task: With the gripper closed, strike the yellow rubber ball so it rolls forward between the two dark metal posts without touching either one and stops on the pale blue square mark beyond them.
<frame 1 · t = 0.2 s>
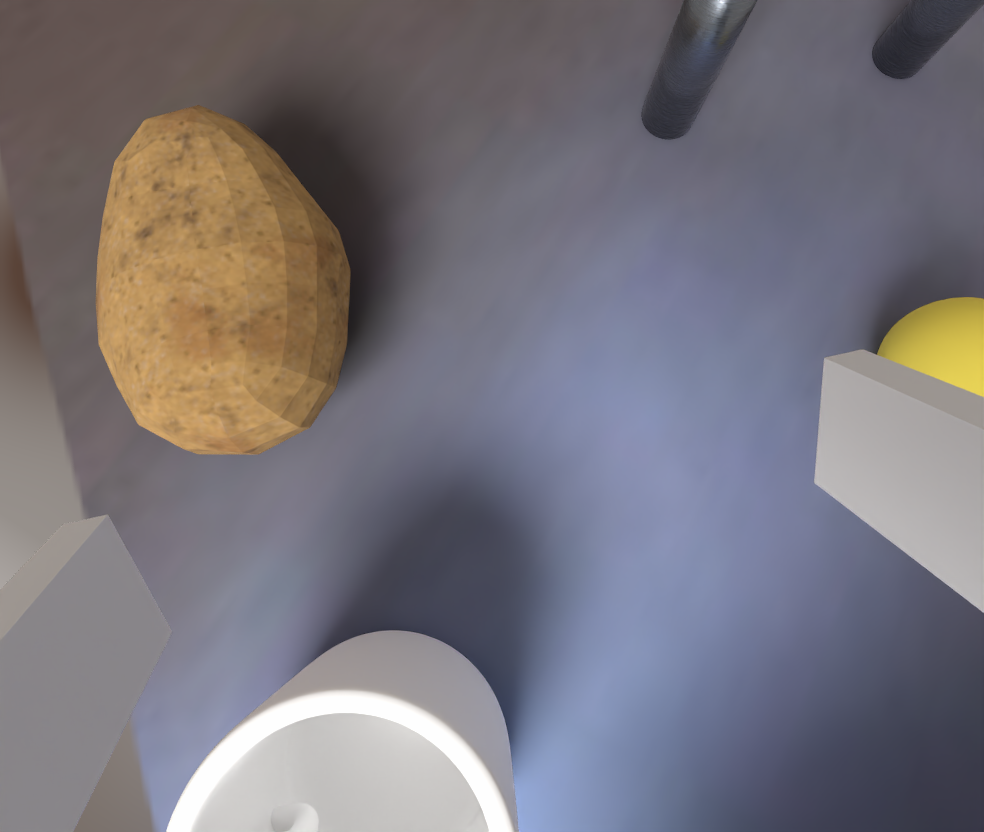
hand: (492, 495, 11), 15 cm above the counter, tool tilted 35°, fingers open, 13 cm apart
post 1: (897, 56, 29), on the counter
ball: (954, 364, 24), on the counter
mug: (371, 761, 24), on the counter
post 2: (667, 115, 29), on the counter
potato: (268, 322, 27), on the counter
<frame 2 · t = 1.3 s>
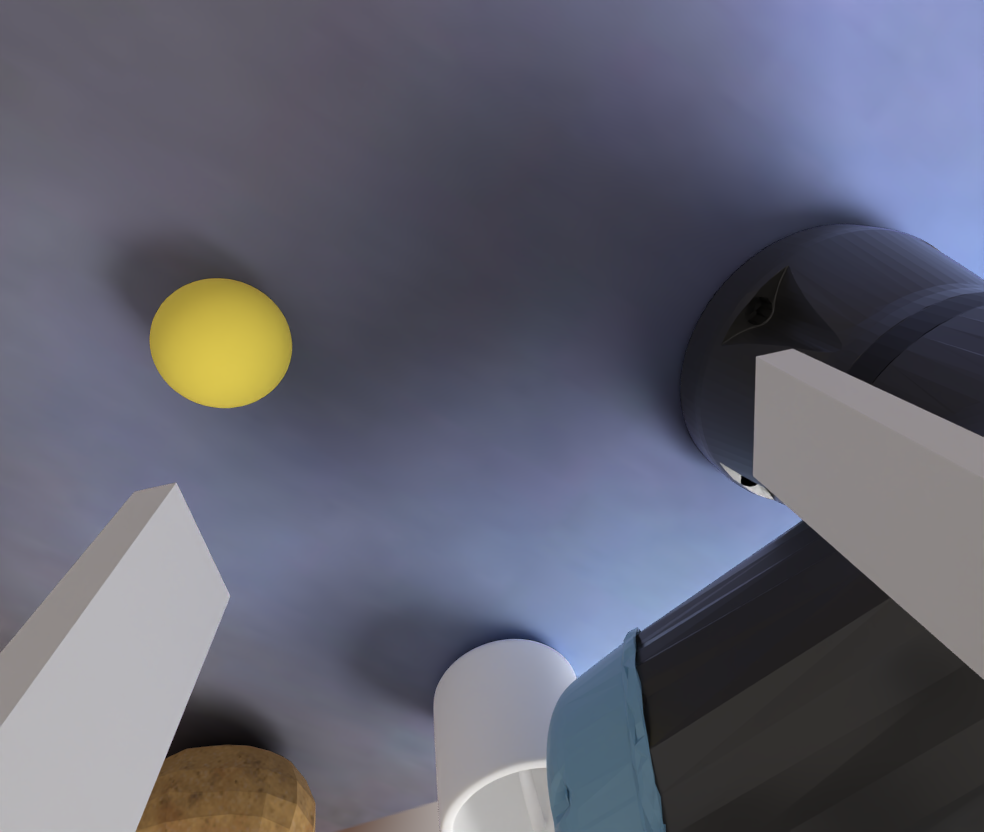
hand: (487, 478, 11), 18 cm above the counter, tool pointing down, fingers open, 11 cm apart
ball: (224, 344, 24), on the counter
mug: (511, 690, 39), on the counter
potato: (220, 760, 38), on the counter
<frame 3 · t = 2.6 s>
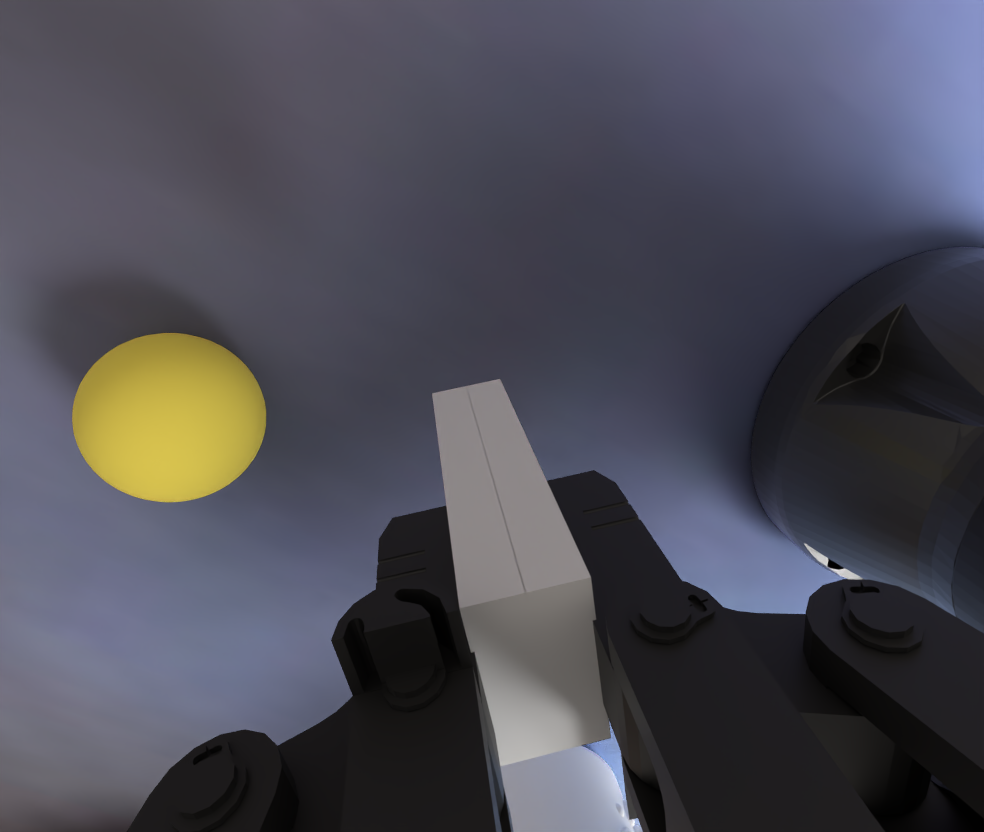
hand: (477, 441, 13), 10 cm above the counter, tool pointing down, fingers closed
ball: (176, 417, 19), on the counter
mug: (539, 792, 33), on the counter
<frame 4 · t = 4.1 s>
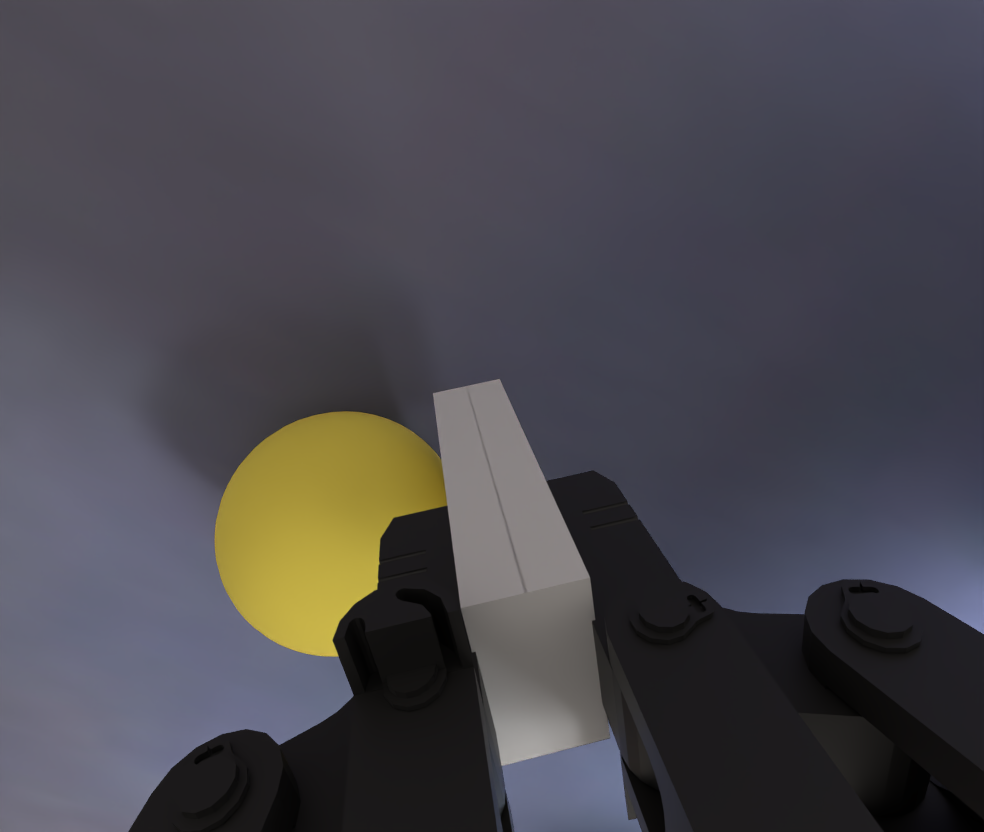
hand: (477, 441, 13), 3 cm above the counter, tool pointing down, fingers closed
ball: (345, 528, 13), on the counter, touching gripper
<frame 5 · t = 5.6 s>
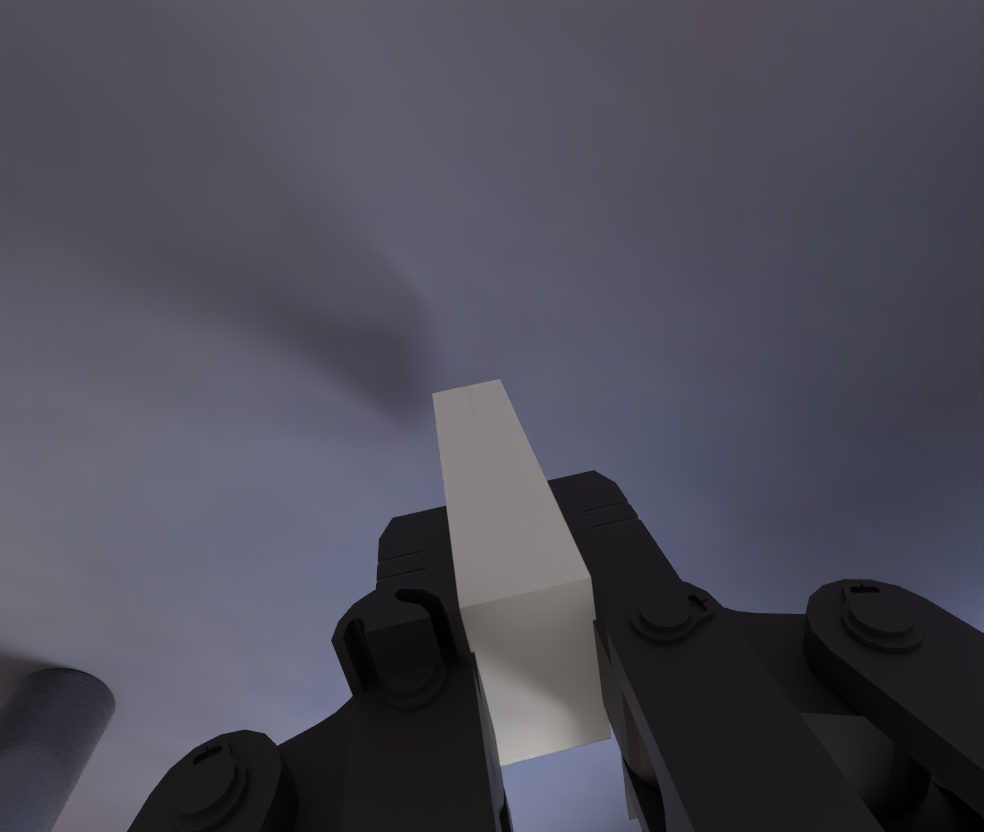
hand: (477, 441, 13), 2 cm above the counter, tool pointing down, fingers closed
post 2: (64, 703, 16), on the counter
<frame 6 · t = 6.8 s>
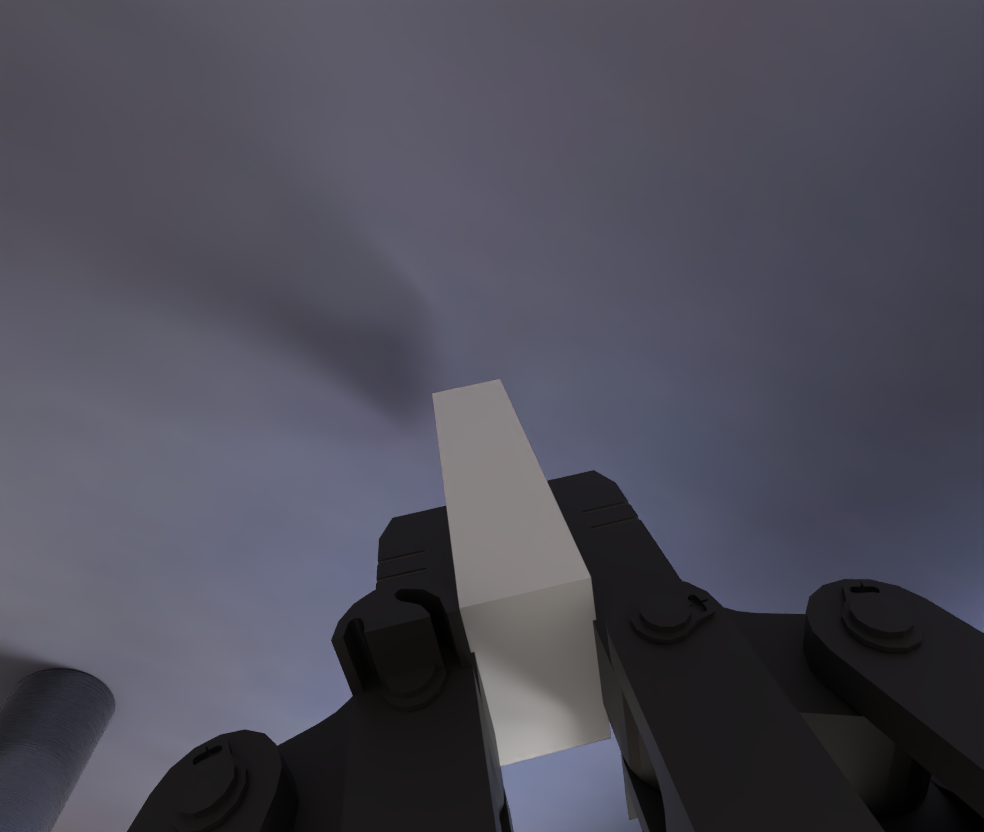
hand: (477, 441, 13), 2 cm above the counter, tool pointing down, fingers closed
post 2: (64, 703, 16), on the counter
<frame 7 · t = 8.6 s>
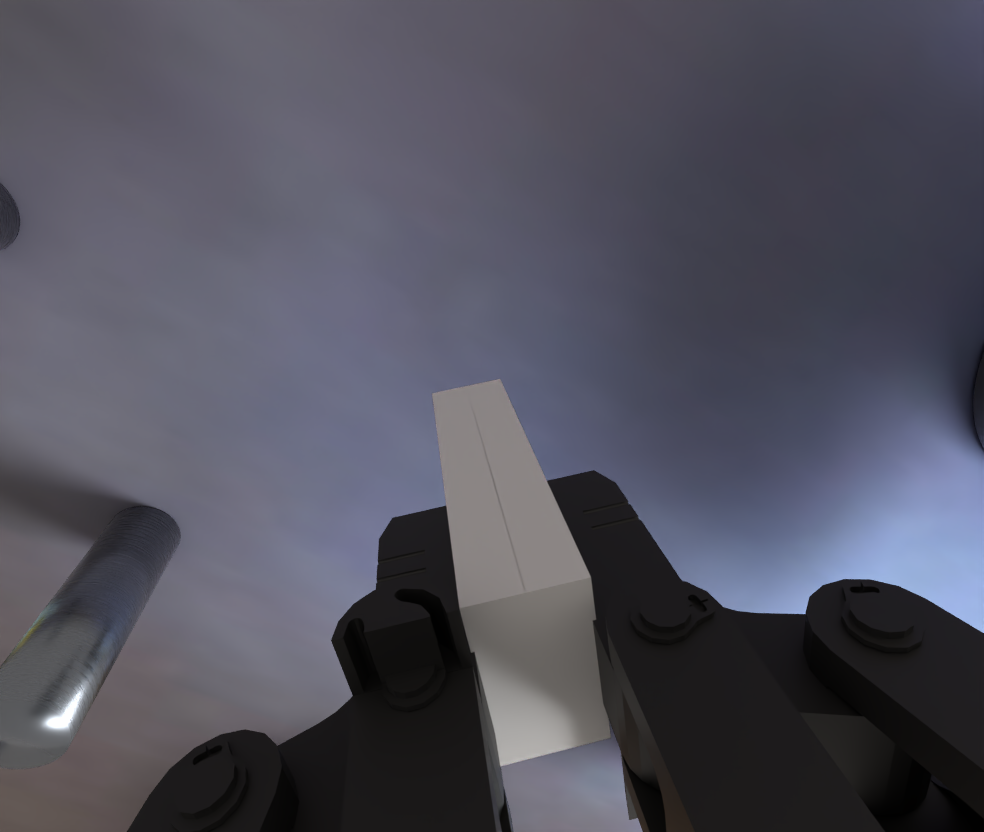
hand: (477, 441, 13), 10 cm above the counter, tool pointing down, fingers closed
post 2: (145, 533, 23), on the counter
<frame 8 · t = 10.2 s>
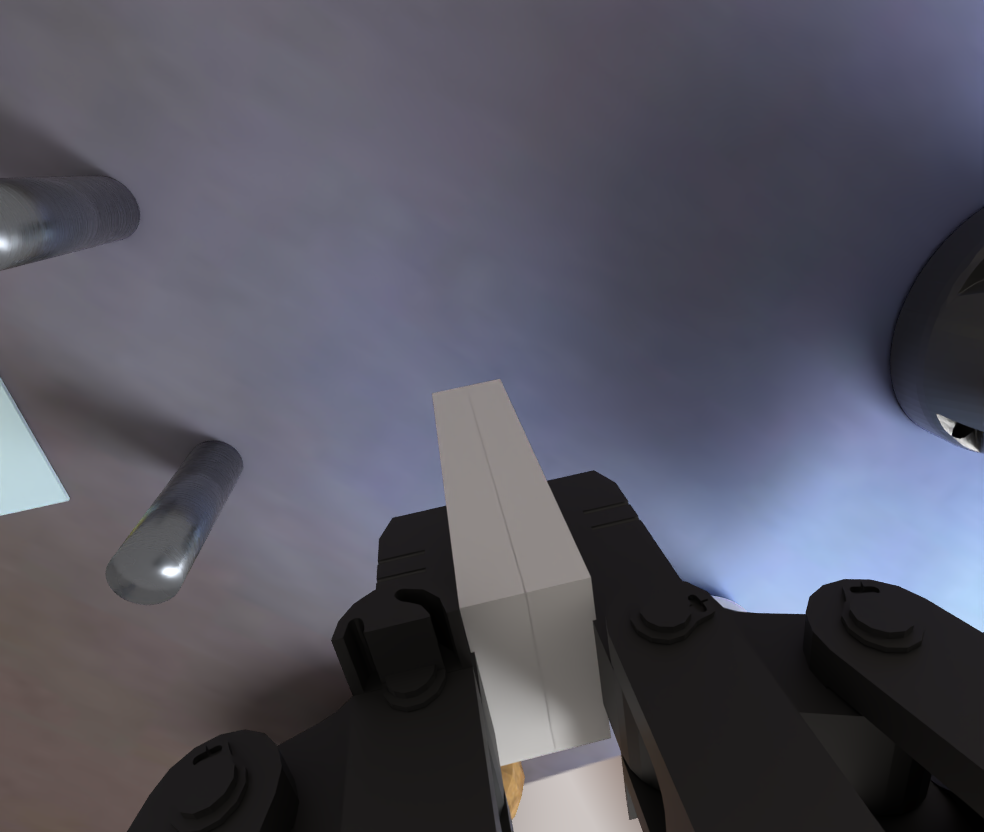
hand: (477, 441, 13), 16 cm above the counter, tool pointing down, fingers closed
post 1: (106, 208, 24), on the counter
post 2: (216, 463, 29), on the counter
potato: (408, 717, 39), on the counter
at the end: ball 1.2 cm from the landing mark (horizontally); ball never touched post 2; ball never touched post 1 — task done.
